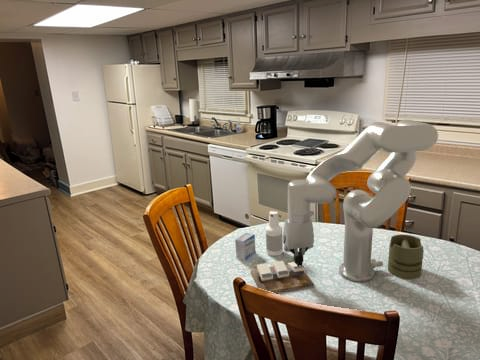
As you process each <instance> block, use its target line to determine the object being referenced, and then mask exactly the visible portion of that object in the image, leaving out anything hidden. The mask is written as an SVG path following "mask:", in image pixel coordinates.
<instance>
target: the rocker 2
mask: <svg viewBox="0 0 480 360" xmlns="http://www.w3.org/2000/svg"><path fill="white" fill-rule="evenodd" d="M287 264H288V266H289V267H290V268H291V269H292V270H293V271H294V272H298V271H306V267H305V265H303V264H302V266H297V264H296V263H294V261H291V262H287Z"/></svg>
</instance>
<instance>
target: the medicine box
mask: <svg viewBox="0 0 480 360" xmlns="http://www.w3.org/2000/svg"><path fill="white" fill-rule="evenodd" d="M234 241H235V243H234V244H235V256H236V257H235V258H236V259H239V260H240V261H241V260H242V261H244V262H245V261H247V260H248V259H250V258H251V257H252V256H253V255H254V254H256V253H257V252H256V250H257V249H256V235H255V234H253V233H250V232H245V233H243V234H241V236H239V237H237V238H236V239H235V240H234Z"/></svg>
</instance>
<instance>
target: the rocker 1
mask: <svg viewBox="0 0 480 360" xmlns="http://www.w3.org/2000/svg"><path fill="white" fill-rule="evenodd" d="M269 267H270V266H269V264H268V262H267V263H266V262H265V263H259V264H256V269H258V272H259V274H260V277H261V280H262V281H264V280H270V279H273V275H272V273H271V270H270V268H269Z"/></svg>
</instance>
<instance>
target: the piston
mask: <svg viewBox="0 0 480 360" xmlns="http://www.w3.org/2000/svg"><path fill="white" fill-rule="evenodd" d="M389 241H390V242H389V246H388V247H389V248H388V258H387V259H388V261H387V270H388V271H387V272H388V273H390V275H392V276H393V277H396V278H400V279H402V280H416V279H418V278H420V277H421V276H422V271H423V259H424V252H425V251H424V250H425V249H424V245H422V242H421V238H419V237H417V236H415V235H411V234H395V235H392V236H391V239H390V240H389Z"/></svg>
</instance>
